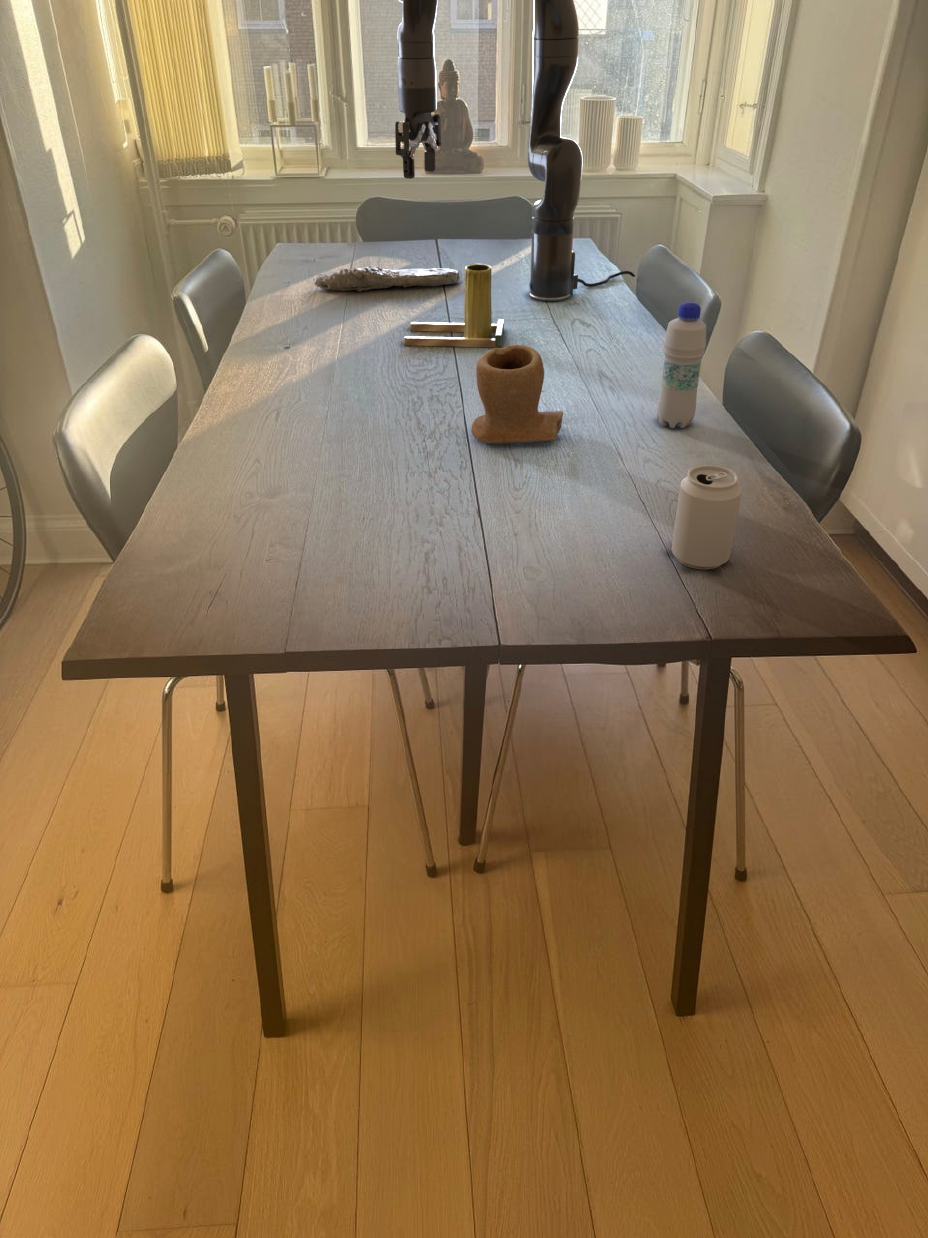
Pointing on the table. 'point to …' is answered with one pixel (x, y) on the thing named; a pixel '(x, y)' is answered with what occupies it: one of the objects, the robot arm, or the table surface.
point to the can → (706, 516)
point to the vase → (477, 302)
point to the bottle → (681, 367)
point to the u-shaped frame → (453, 340)
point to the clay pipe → (513, 398)
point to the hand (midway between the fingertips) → (419, 174)
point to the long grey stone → (384, 278)
